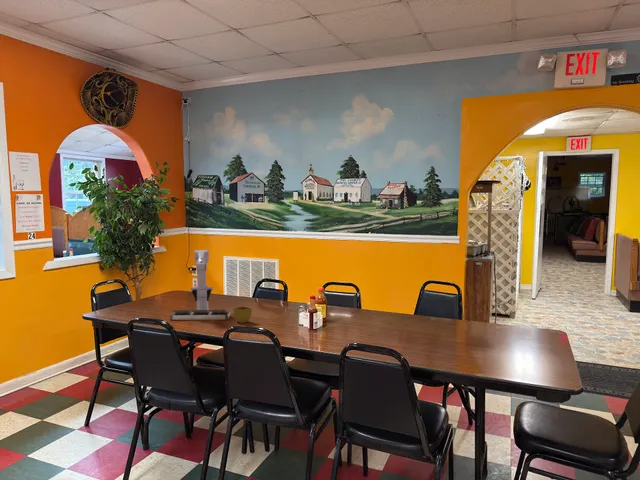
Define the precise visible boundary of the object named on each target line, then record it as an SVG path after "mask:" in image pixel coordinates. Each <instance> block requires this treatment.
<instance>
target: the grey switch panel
mask: <svg viewBox="0 0 640 480" xmlns="http://www.w3.org/2000/svg"><path fill="white" fill-rule="evenodd" d="M169 315H170V316H169V320H170V321H209V320H210V321H211V320H212V321H214V320H218V321H219V320H225V321H226V320H229V318H230V316H231V311H230V310H229V311H228V310H227V312H210V311H209V312H201V313H194V312H192V311H191V312H189V313H175V312H173V311H172V313H171V314H169Z"/></svg>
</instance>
